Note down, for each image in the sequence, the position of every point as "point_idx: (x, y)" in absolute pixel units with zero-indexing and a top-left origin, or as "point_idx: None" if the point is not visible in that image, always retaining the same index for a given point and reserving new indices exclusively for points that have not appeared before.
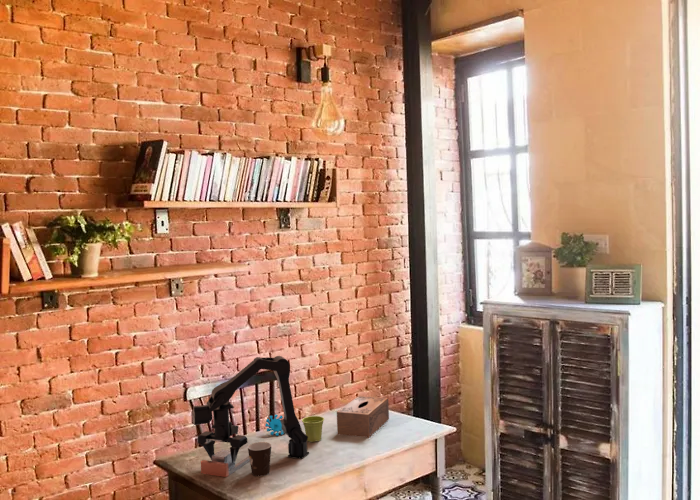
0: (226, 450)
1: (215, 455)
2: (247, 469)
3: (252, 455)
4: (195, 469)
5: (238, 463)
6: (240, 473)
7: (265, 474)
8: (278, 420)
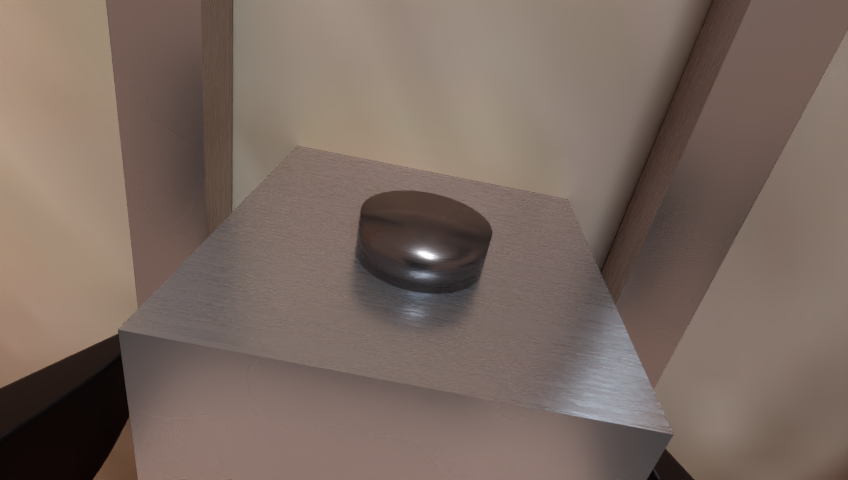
0: (351, 425)
1: None
2: (828, 319)
3: None
4: (10, 359)
5: (662, 252)
6: (721, 442)
7: None
8: None
